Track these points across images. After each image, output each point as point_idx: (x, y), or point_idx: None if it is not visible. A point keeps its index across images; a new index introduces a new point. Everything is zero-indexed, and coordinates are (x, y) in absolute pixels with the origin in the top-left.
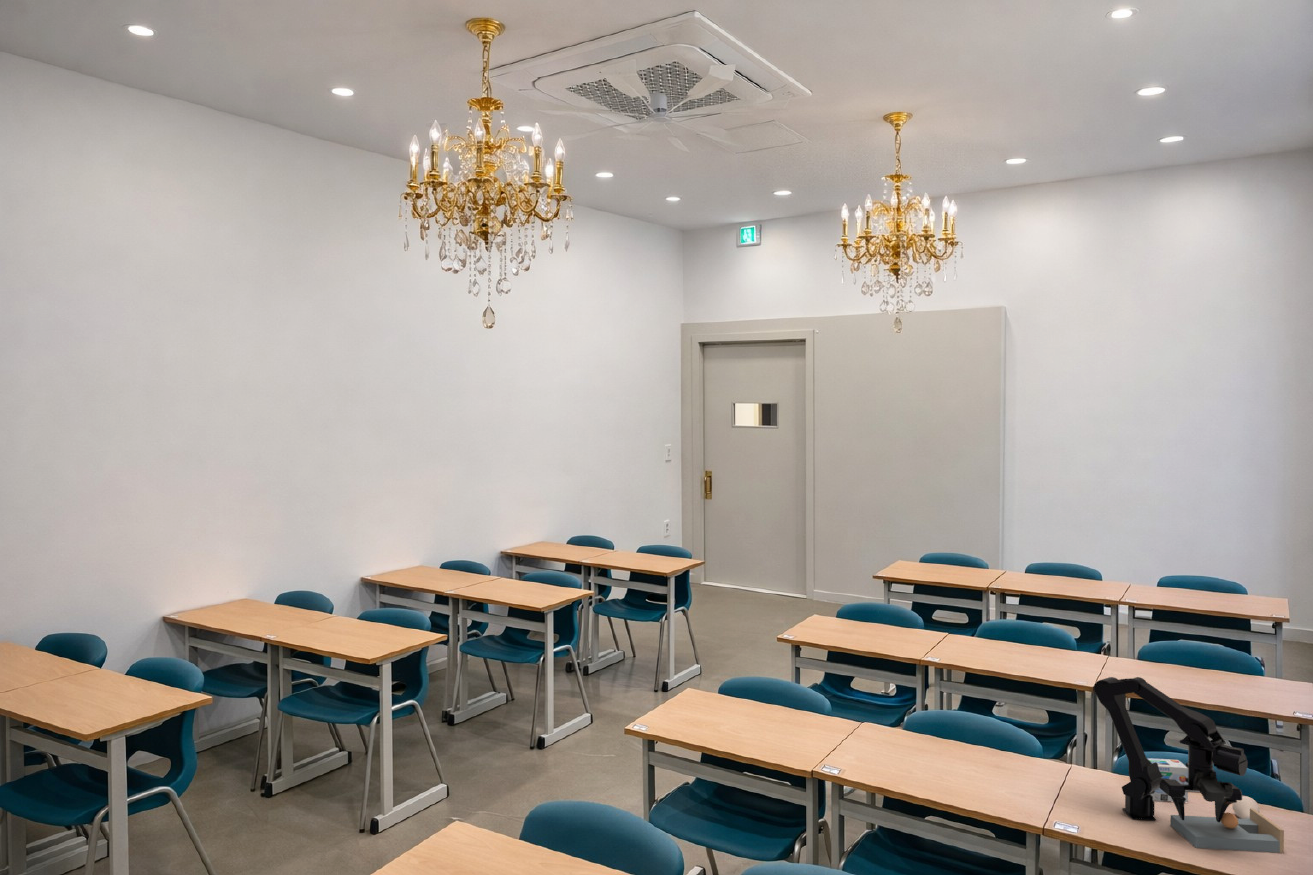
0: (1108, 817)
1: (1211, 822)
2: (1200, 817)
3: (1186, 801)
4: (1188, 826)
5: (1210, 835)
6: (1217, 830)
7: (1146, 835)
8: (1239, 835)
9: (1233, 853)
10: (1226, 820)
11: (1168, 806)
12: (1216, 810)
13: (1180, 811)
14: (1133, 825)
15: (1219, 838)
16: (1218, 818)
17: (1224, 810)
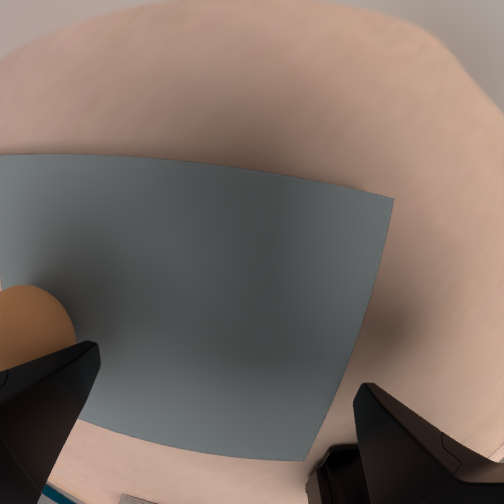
0: (459, 431)
1: (121, 387)
2: (153, 434)
3: (124, 498)
4: (320, 354)
5: (257, 209)
6: (141, 290)
7: (475, 325)
8: (45, 211)
9: (171, 114)
10: (42, 324)
11: (193, 499)
12: (65, 418)
13: (423, 421)
14: (445, 399)
15: (210, 165)
16: (84, 358)
17: (4, 374)
